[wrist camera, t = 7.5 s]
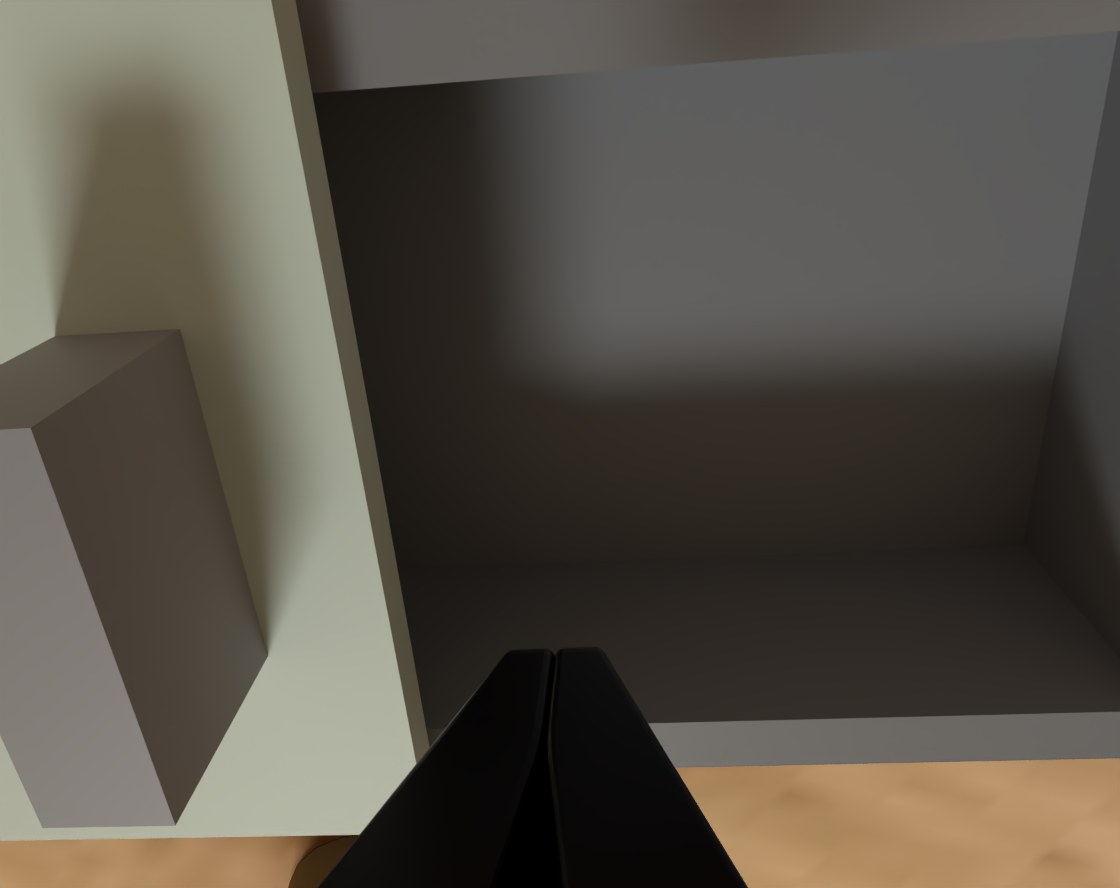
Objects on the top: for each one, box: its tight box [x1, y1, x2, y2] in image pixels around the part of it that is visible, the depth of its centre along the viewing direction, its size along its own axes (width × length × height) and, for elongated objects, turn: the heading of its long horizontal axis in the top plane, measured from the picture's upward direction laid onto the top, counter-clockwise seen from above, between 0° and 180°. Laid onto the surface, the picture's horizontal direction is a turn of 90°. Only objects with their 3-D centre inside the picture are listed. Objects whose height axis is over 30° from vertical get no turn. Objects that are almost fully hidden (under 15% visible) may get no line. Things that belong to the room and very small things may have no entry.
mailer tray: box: [295, 0, 1120, 768], centre depth 15 cm, size 20×12×6 cm, turn 94°
